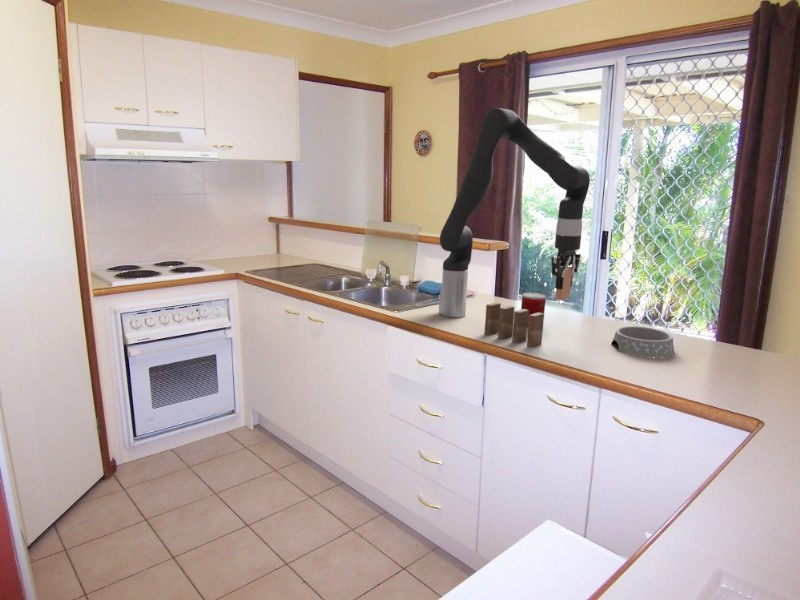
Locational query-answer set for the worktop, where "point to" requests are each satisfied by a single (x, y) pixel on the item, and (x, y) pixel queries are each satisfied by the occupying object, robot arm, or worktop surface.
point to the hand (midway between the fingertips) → (563, 287)
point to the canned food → (533, 303)
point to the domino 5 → (565, 285)
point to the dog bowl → (644, 341)
